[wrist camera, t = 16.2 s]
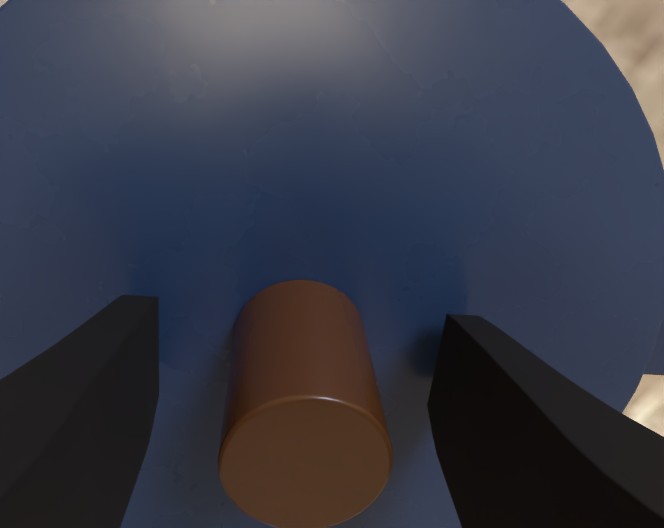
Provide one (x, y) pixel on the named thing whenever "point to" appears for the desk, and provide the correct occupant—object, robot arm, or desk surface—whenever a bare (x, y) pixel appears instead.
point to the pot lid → (322, 228)
